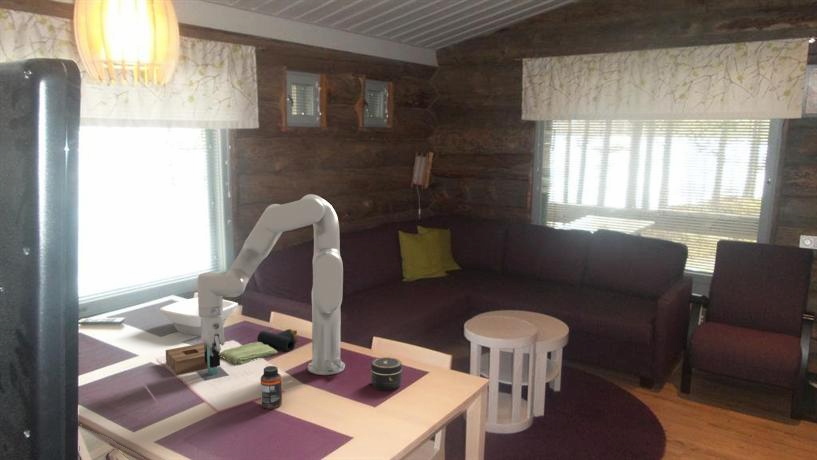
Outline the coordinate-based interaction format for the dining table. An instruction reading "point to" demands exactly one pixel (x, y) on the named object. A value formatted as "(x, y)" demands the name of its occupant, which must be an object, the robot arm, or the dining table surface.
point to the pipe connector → (279, 339)
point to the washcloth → (248, 352)
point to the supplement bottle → (271, 388)
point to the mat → (208, 377)
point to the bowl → (191, 315)
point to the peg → (210, 370)
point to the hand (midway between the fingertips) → (212, 363)
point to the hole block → (186, 359)
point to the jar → (386, 373)
